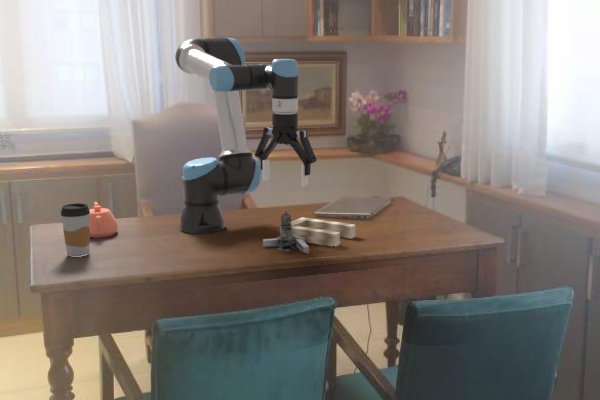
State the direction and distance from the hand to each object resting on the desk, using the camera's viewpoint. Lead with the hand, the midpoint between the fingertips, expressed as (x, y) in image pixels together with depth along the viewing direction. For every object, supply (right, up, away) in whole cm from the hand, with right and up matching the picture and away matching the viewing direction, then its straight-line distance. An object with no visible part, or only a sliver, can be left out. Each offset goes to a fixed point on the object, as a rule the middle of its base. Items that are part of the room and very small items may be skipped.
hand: (285, 183), depth 223 cm
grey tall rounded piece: (0, -20, +4) cm, 21 cm away
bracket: (+10, -17, +17) cm, 26 cm away
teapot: (-62, -16, +24) cm, 69 cm away
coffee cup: (-62, -22, 0) cm, 66 cm away
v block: (+2, -19, +7) cm, 21 cm away
